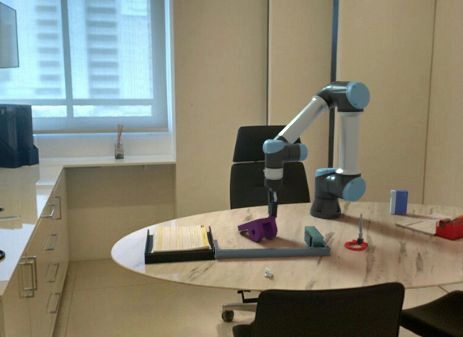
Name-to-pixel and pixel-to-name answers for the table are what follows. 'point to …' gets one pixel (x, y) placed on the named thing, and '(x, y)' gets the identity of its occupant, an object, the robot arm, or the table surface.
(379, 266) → the table surface
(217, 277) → the table surface
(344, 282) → the table surface
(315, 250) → the rail
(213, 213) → the table surface
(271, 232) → the mounting bracket
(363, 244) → the red ring with rod
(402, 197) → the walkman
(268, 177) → the robot arm
